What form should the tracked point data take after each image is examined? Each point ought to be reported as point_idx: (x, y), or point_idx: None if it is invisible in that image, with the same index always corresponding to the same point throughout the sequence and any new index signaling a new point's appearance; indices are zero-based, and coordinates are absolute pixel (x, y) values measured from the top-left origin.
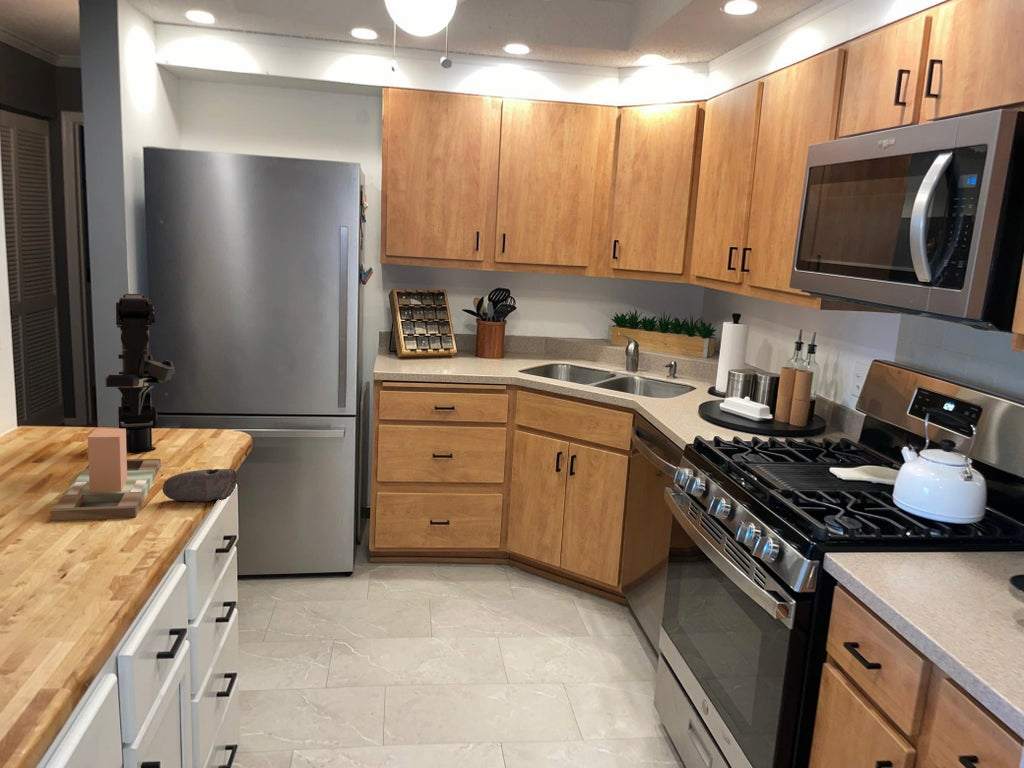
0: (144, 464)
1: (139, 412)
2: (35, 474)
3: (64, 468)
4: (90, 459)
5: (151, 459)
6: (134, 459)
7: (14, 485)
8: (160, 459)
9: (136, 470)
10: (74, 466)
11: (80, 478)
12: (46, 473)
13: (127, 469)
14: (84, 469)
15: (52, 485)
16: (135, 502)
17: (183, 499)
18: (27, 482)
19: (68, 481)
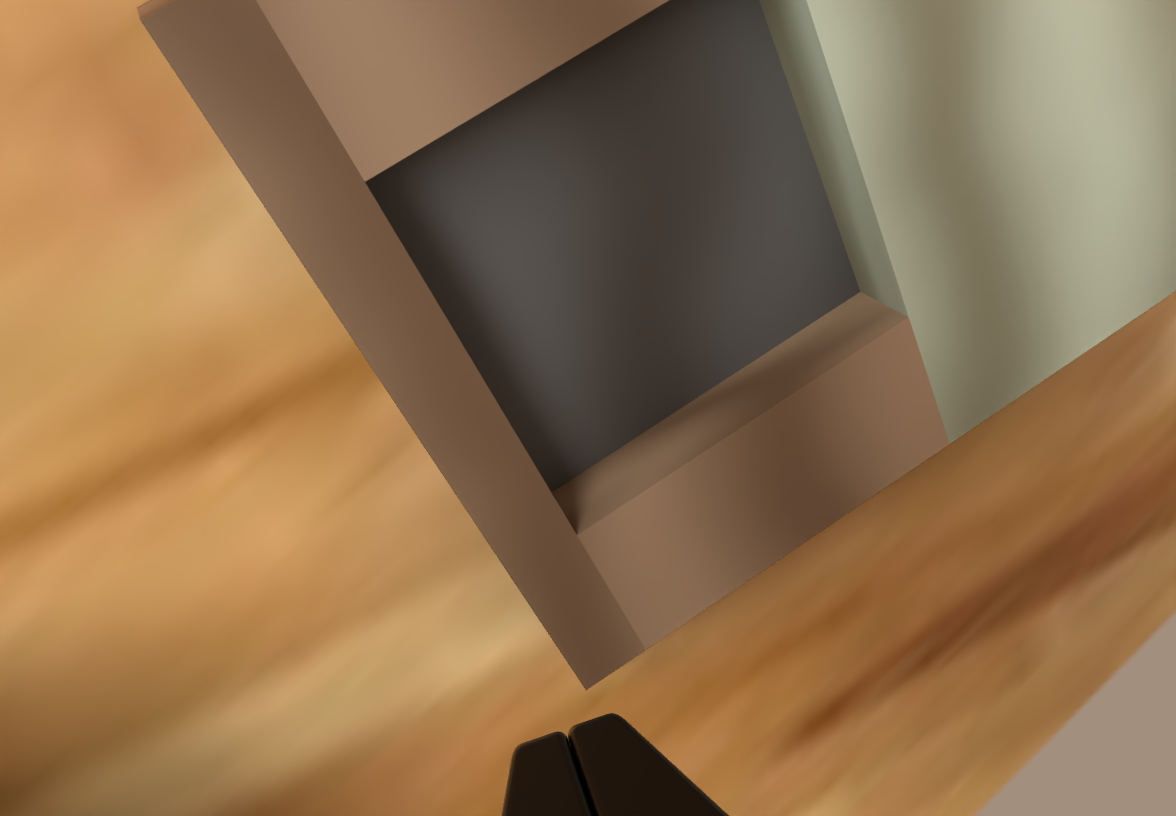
0: (523, 40)
1: (577, 770)
2: (839, 801)
3: None
4: None
5: (262, 119)
6: (378, 330)
7: (1070, 688)
8: (150, 12)
9: (501, 151)
10: None
11: (1121, 299)
12: (799, 770)
13: (507, 276)
14: (884, 486)
15: (1041, 495)
16: None
17: None
18: (1005, 683)
19: (939, 479)
